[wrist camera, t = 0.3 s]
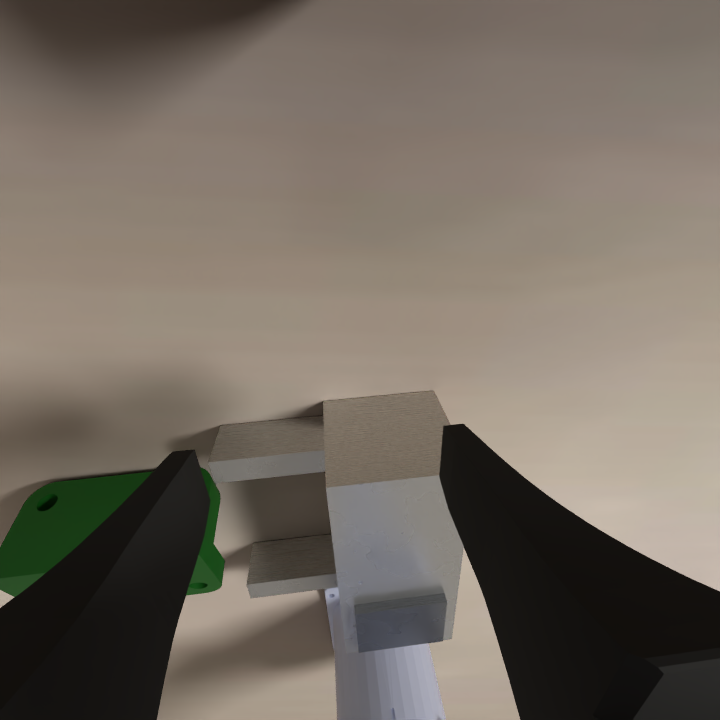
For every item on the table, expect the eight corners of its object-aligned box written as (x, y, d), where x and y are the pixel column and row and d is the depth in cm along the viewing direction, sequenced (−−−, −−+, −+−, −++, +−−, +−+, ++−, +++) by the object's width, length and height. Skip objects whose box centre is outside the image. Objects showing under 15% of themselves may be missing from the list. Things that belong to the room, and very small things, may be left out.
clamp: (125, 480, 29) (25, 603, 23) (88, 435, 25) (-43, 570, 19) (260, 521, 27) (185, 672, 21) (241, 479, 23) (144, 649, 17)
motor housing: (425, 544, 30) (454, 648, 24) (259, 565, 29) (244, 677, 23) (433, 390, 23) (477, 479, 17) (216, 411, 22) (179, 513, 16)
